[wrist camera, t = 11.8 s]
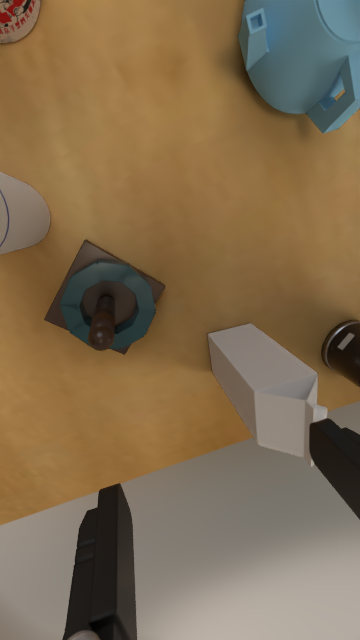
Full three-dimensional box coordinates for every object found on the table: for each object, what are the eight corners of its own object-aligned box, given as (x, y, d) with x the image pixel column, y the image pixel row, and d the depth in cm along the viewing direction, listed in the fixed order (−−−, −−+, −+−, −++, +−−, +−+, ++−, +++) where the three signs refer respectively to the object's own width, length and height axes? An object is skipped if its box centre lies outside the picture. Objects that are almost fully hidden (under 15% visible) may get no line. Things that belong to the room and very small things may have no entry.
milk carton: (212, 372, 42) (278, 478, 25) (206, 333, 40) (276, 419, 22) (253, 361, 43) (344, 455, 26) (250, 322, 41) (350, 396, 23)
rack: (163, 283, 36) (188, 317, 23) (124, 350, 38) (127, 414, 25) (86, 239, 32) (65, 250, 19) (46, 316, 34) (4, 371, 21)
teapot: (202, 76, 29) (246, -1, 19) (269, -98, 25) (367, -304, 15) (305, 150, 34) (383, 121, 24) (373, 14, 30) (497, -87, 20)
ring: (168, 285, 34) (172, 291, 32) (127, 353, 36) (128, 363, 34) (90, 240, 30) (87, 242, 28) (49, 318, 32) (43, 327, 30)
